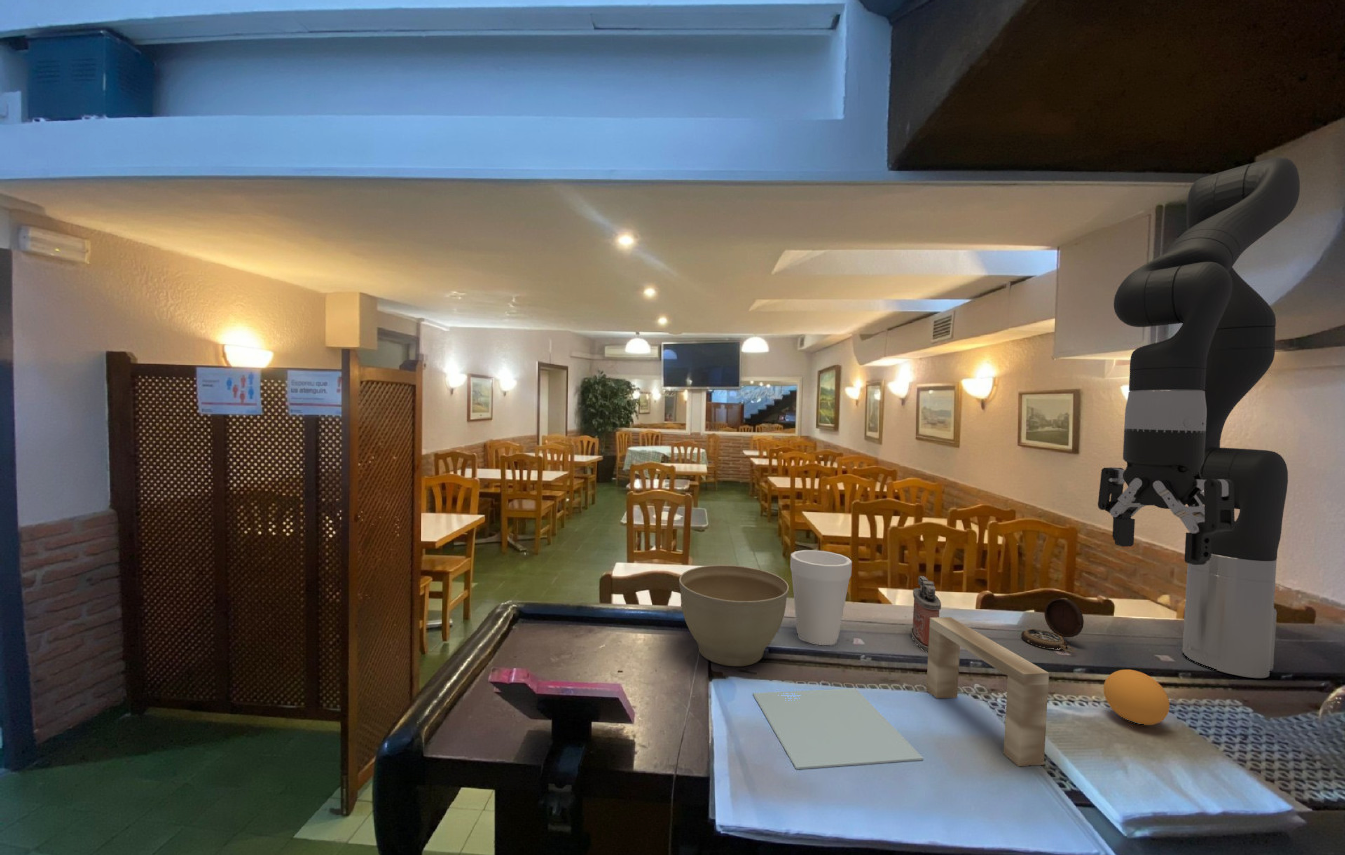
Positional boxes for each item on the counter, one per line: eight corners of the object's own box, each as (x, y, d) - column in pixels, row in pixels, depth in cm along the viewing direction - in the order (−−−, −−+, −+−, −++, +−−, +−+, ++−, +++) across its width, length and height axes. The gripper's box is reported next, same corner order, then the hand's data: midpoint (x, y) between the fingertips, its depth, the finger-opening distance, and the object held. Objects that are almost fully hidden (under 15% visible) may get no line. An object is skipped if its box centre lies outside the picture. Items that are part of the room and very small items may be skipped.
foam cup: (848, 631, 87) (851, 554, 87) (847, 654, 79) (851, 569, 78) (790, 622, 90) (793, 547, 90) (783, 643, 82) (787, 561, 81)
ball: (1129, 706, 67) (1132, 659, 67) (1182, 734, 61) (1185, 684, 61) (1089, 708, 66) (1092, 661, 66) (1138, 737, 60) (1142, 686, 60)
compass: (1011, 637, 88) (1014, 594, 88) (1048, 633, 90) (1051, 592, 90) (1057, 658, 80) (1059, 612, 80) (1096, 655, 82) (1099, 609, 82)
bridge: (946, 689, 69) (950, 617, 69) (1043, 764, 55) (1049, 673, 54) (926, 690, 69) (929, 617, 69) (1018, 766, 54) (1023, 674, 54)
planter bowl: (654, 650, 78) (656, 578, 77) (721, 622, 89) (724, 559, 89) (741, 693, 66) (745, 609, 66) (806, 655, 78) (809, 583, 78)
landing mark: (855, 689, 68) (855, 688, 68) (923, 760, 55) (923, 758, 55) (752, 694, 66) (752, 693, 66) (796, 769, 52) (796, 767, 52)
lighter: (943, 654, 80) (946, 589, 80) (919, 651, 81) (922, 587, 80) (928, 633, 88) (931, 574, 88) (907, 631, 89) (910, 572, 88)
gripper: (1258, 429, 59) (1250, 570, 60) (1132, 426, 74) (1126, 540, 74) (1203, 428, 58) (1195, 572, 59) (1085, 425, 72) (1080, 540, 73)
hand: (1157, 554), depth 66 cm, fingers open, 8 cm apart
